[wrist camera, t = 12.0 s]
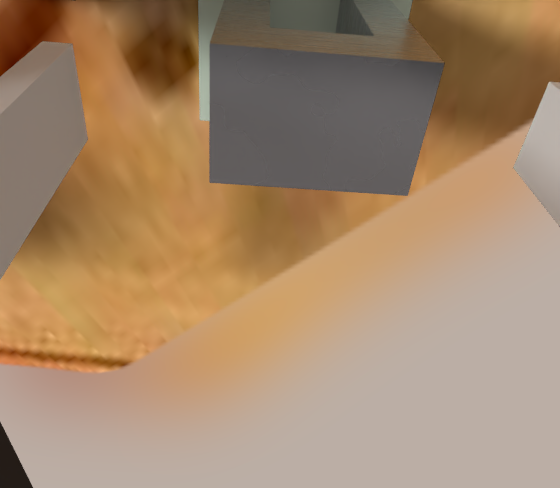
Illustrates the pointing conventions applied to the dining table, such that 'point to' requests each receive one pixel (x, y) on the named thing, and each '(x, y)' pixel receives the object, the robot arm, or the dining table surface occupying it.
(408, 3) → the mat
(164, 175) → the dining table surface
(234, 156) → the grey slotted block
